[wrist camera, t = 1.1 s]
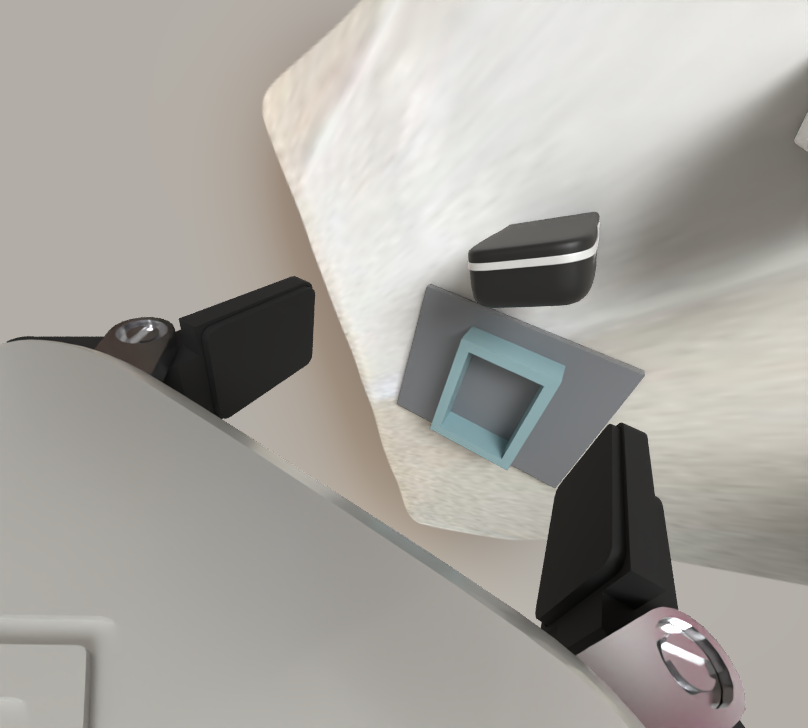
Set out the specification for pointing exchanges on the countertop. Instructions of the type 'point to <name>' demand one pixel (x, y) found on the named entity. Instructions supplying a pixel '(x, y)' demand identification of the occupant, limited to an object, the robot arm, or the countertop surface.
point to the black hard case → (536, 263)
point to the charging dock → (509, 386)
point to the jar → (803, 135)
